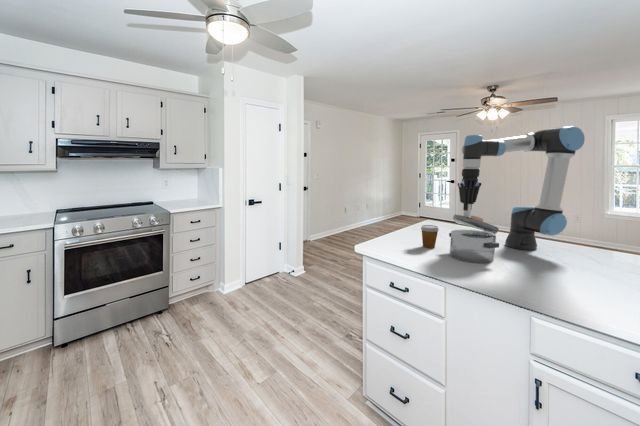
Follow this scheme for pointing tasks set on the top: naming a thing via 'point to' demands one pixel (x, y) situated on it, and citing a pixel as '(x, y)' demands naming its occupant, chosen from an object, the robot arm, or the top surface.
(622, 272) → the top surface
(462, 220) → the pot lid
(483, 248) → the cooker pot
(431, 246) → the disposable coffee cup
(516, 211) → the robot arm
